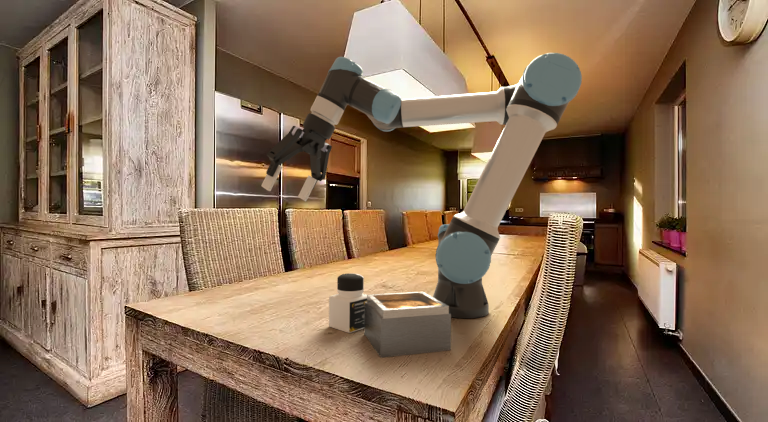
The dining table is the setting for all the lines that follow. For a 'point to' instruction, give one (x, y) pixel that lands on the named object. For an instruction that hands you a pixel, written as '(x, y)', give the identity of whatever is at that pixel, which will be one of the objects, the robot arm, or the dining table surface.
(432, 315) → the grey box
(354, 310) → the medicine bottle
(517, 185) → the robot arm
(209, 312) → the dining table surface
